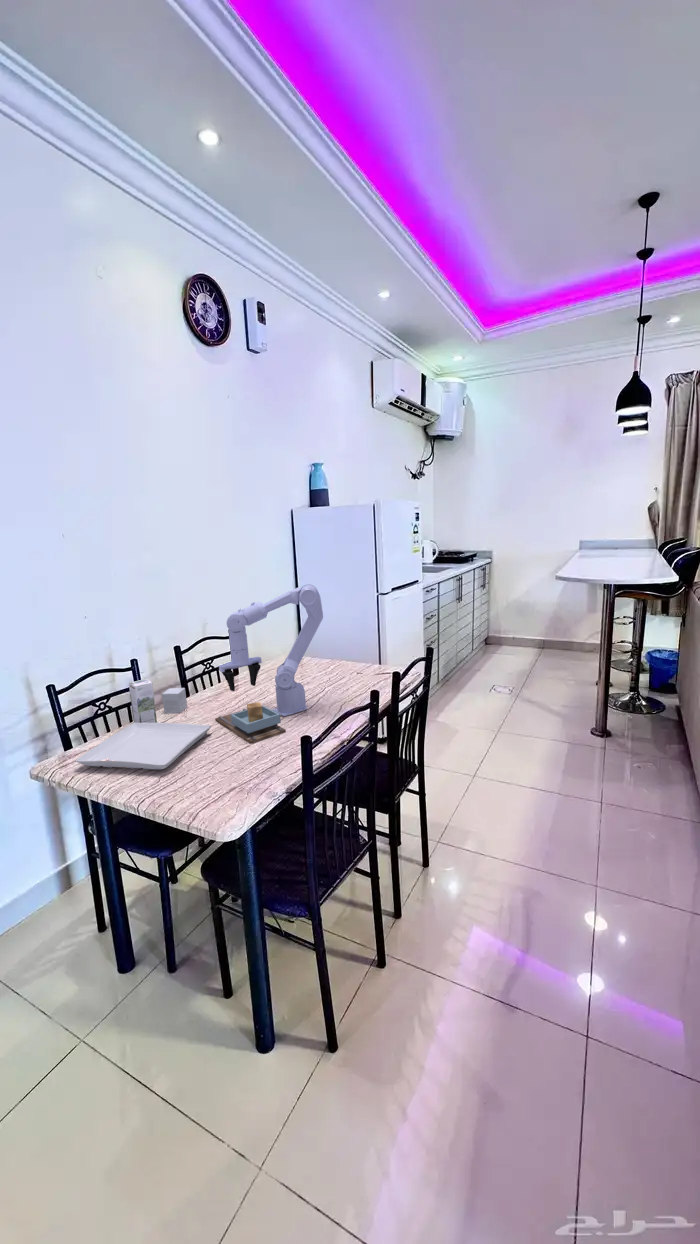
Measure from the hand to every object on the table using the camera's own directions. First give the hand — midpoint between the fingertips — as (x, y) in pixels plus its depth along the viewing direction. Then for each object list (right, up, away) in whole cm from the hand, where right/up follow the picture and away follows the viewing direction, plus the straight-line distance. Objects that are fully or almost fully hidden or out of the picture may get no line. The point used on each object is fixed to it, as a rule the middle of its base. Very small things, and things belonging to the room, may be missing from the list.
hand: (242, 687), depth 171 cm
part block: (+7, -8, -13) cm, 17 cm away
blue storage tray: (+7, -10, -13) cm, 18 cm away
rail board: (+4, -11, -9) cm, 15 cm away
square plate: (-22, -16, -23) cm, 36 cm away
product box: (-26, -9, +9) cm, 29 cm away
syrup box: (-32, -12, -2) cm, 34 cm away
